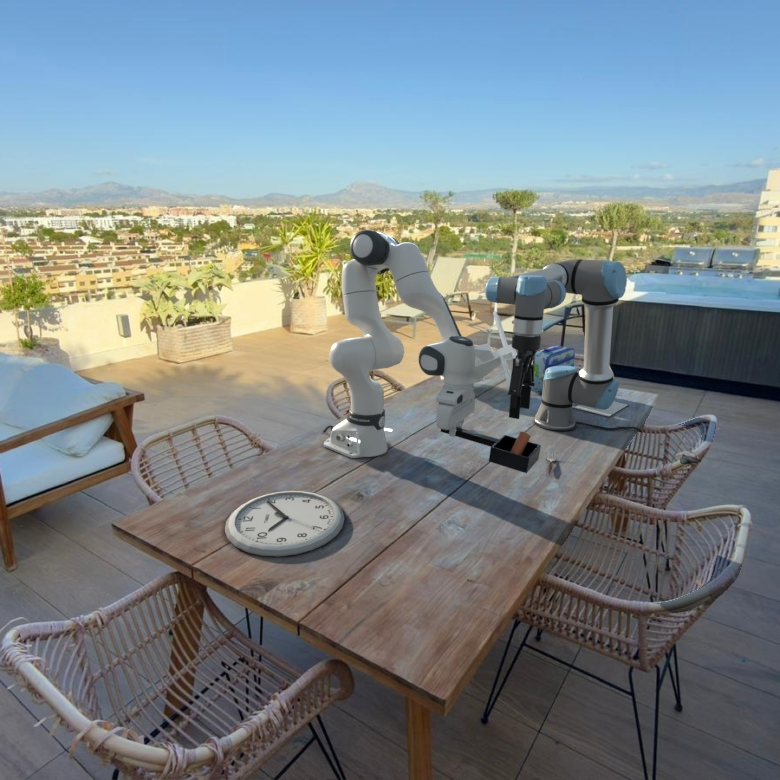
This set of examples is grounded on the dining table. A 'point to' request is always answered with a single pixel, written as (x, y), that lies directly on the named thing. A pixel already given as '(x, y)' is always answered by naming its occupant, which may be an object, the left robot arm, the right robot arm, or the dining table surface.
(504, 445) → the pan
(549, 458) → the fork
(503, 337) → the white plastic object
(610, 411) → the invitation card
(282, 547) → the wall clock
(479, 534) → the dining table surface
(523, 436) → the peg
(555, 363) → the lunch box
